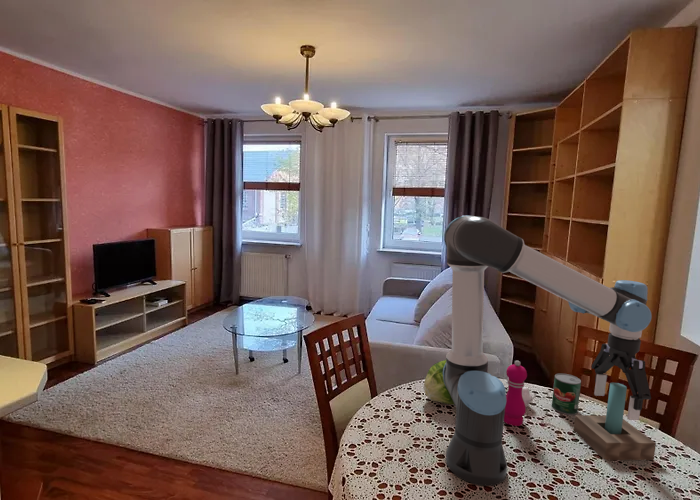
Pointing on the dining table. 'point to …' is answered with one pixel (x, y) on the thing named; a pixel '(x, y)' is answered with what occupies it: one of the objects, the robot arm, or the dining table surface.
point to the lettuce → (437, 384)
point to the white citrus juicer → (526, 396)
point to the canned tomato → (566, 394)
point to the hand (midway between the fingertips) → (615, 406)
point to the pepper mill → (515, 395)
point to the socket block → (614, 439)
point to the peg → (615, 408)
